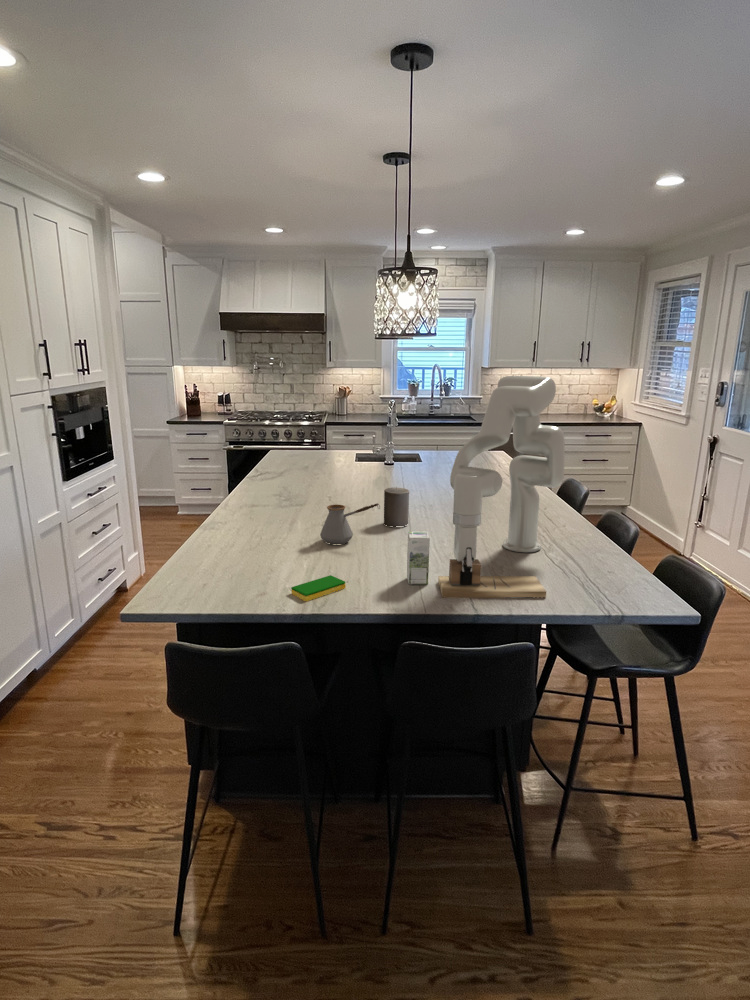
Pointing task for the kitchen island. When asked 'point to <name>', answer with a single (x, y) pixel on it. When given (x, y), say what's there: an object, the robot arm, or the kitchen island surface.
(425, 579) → the syrup box
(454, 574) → the block
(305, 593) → the dish sponge
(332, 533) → the coffee pot
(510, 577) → the board
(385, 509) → the pillar candle
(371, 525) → the kitchen island surface
